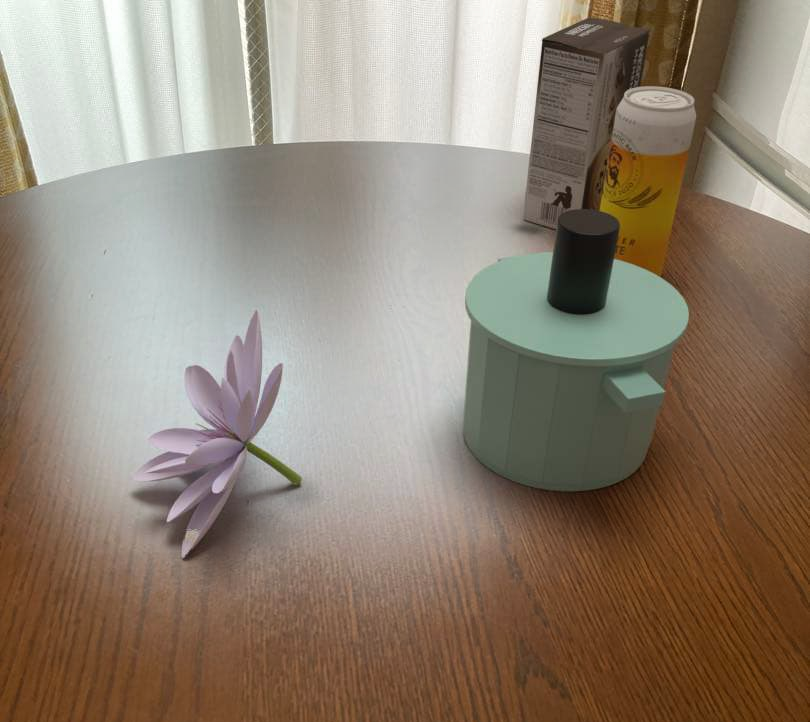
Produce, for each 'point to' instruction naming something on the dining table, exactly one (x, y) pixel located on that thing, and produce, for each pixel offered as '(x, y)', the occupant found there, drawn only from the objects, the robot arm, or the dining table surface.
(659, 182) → the beer can
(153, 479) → the water lily
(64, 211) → the dining table surface
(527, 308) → the lid
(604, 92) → the coffee box
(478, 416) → the pot
